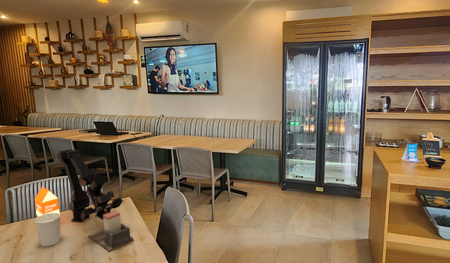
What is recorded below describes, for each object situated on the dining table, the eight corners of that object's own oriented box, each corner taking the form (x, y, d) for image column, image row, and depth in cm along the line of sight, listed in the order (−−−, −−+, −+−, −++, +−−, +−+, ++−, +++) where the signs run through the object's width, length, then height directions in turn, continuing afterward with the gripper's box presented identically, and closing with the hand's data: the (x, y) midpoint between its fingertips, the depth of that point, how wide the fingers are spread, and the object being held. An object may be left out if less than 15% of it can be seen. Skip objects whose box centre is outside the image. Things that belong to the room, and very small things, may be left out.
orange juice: (44, 230, 140) (40, 192, 137) (37, 225, 146) (33, 188, 142) (61, 224, 146) (57, 188, 143) (53, 219, 152) (49, 184, 148)
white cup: (34, 249, 125) (31, 224, 123) (42, 237, 134) (39, 214, 132) (59, 245, 127) (56, 221, 125) (65, 234, 137) (62, 211, 135)
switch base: (88, 237, 134) (87, 223, 133) (112, 227, 143) (111, 214, 142) (109, 252, 122) (108, 237, 121) (133, 240, 131) (132, 226, 130)
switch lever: (104, 239, 130) (102, 214, 128) (117, 233, 135) (115, 210, 133) (109, 242, 127) (107, 217, 125) (121, 236, 132) (120, 212, 130)
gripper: (81, 193, 125) (95, 223, 120) (119, 181, 139) (133, 208, 134) (74, 205, 131) (88, 234, 126) (112, 193, 145) (125, 219, 140)
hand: (109, 223), depth 131 cm, fingers closed, pressing on switch lever
